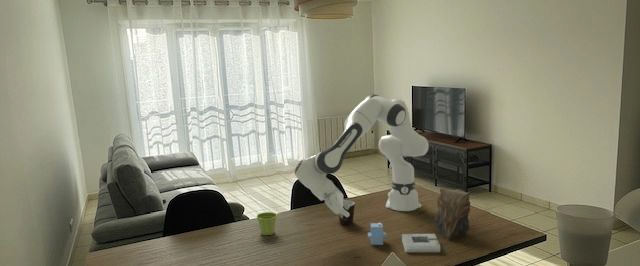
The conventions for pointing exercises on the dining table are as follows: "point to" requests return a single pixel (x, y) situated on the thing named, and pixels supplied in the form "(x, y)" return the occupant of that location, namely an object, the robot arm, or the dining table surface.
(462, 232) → the brown tall rough block
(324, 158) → the robot arm
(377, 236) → the servo
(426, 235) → the chassis
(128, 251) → the dining table surface
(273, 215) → the plant pot
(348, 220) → the coffee mug
